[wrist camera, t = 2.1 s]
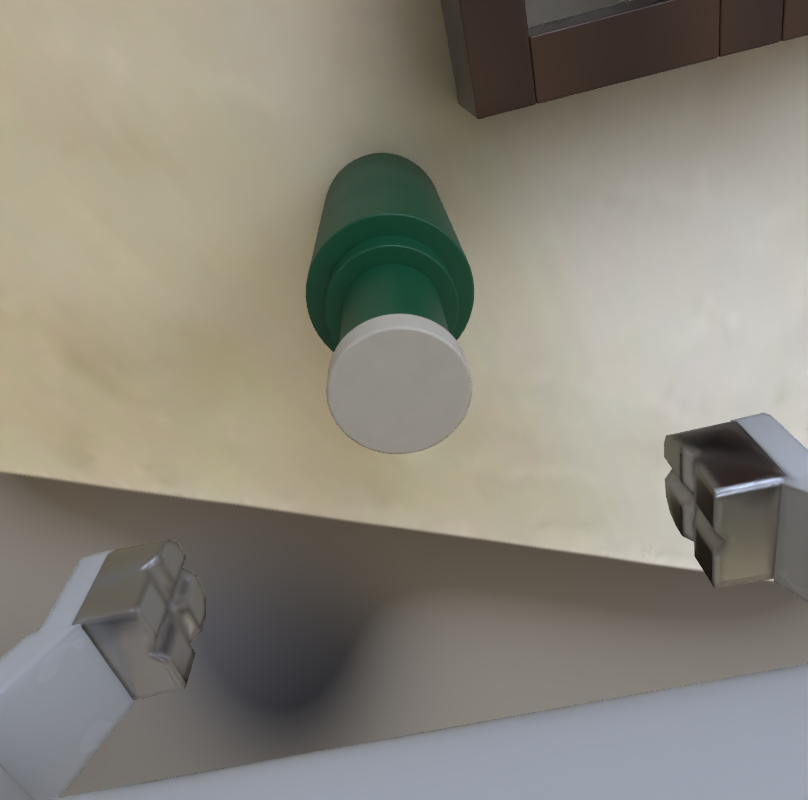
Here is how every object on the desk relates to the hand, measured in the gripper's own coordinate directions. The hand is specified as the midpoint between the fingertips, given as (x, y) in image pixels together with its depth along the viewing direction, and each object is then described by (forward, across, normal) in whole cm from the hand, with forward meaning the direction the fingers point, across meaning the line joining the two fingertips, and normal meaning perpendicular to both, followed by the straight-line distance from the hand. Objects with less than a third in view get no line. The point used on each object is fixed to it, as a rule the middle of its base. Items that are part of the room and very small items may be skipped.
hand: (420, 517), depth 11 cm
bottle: (+20, 0, 0) cm, 20 cm away
